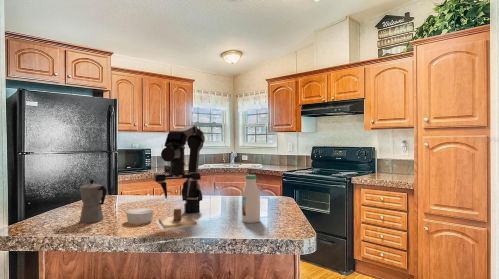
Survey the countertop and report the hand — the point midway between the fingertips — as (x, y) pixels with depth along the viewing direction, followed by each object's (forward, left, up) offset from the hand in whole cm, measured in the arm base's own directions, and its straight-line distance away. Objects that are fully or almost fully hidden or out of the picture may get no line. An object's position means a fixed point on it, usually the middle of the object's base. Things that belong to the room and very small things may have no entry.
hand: (177, 197), depth 130 cm
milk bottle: (-30, +9, -11) cm, 33 cm away
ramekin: (+14, -9, -11) cm, 20 cm away
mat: (0, 0, -11) cm, 11 cm away
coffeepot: (+32, -21, -11) cm, 40 cm away
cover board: (0, 0, -10) cm, 11 cm away
